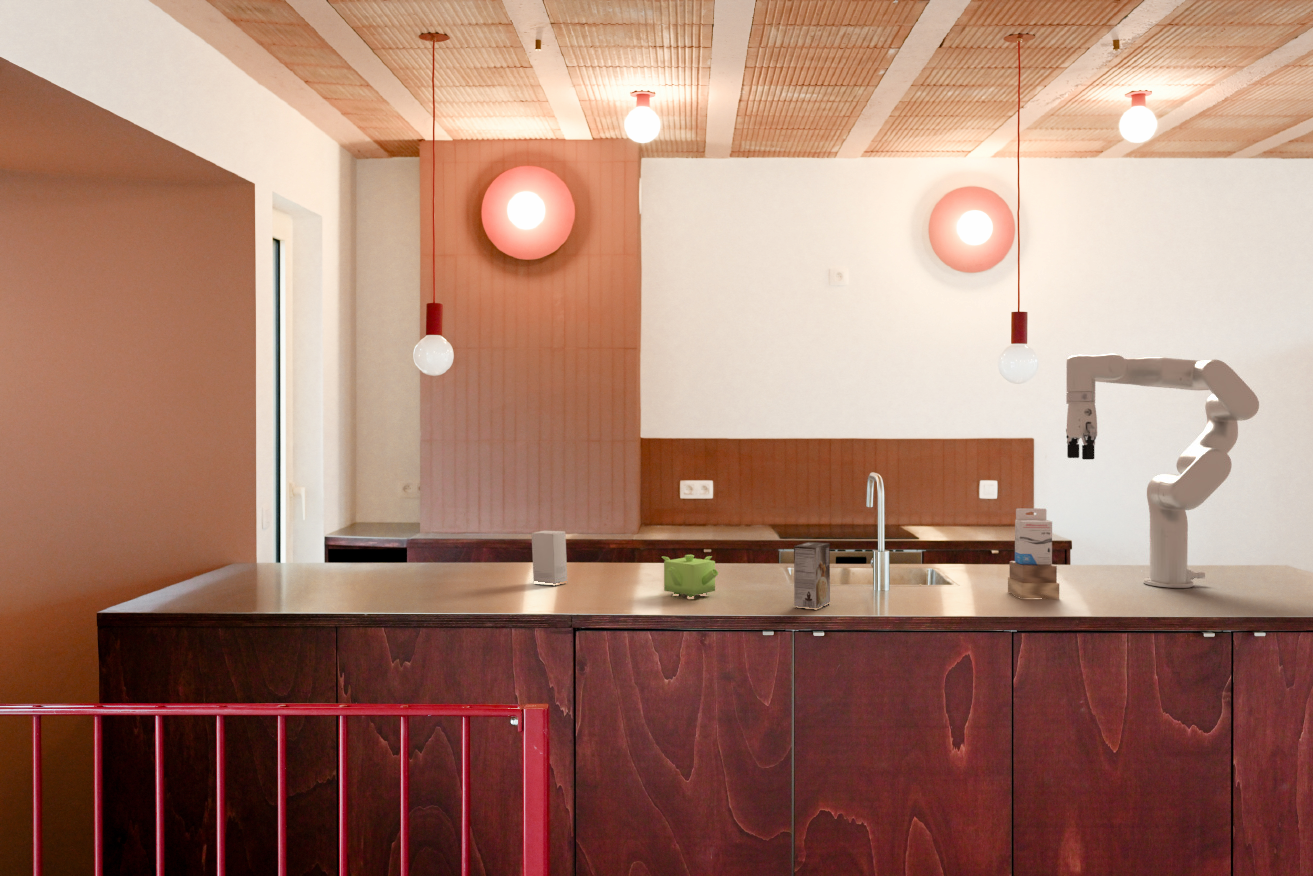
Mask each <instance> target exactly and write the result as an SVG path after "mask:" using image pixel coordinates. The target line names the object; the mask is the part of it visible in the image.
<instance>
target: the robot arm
mask: <svg viewBox="0 0 1313 876" xmlns="http://www.w3.org/2000/svg"><path fill="white" fill-rule="evenodd" d="M1096 382H1098V383H1107V384H1119V385H1131V386H1132V385H1133V386H1139V387H1140V386H1142V387H1150V388H1151V387H1155V388H1165V389H1166V388H1167V389H1176V390H1185V391H1186V390H1187V391H1210V392H1211V394H1210V395H1209V396H1208V397H1207V398H1206V400H1205V405H1204V407H1205V414H1206V425H1205V427H1204V429H1203V431H1202V432H1201V434H1200V435H1199V436H1198V437H1197V438H1196V439H1195V440H1194V441H1193V442H1192V443H1191V444H1190V446H1188V447H1187V448H1186V449H1185V450H1184V451H1183V452H1182V454H1180V456H1179V457H1178V458H1177V461H1176V465H1175V466H1176V470H1177V472H1178V473H1179V474H1180V475H1179V474H1172V473H1163V474H1158V475H1156V476H1154V477H1153V478H1152V479H1151V480H1150V481H1149V483H1148V484H1147V488H1146V498H1147V503H1148V511H1149V577H1145V578H1143V583H1144V584H1146V585H1148V586H1153V587H1160V588H1169V589H1170V588H1171V589H1172V588H1173V589H1186V588H1193V587H1194V585H1195V584H1194V581H1193V580H1195V579H1197V580H1198V579H1205V577H1206V573H1205V572H1204V571H1194V570H1193V571H1192V569H1189V568H1188V549H1189V548H1188V546H1189V545H1188V543H1189V542H1188V538H1189V537H1188V535H1189V534H1188V531H1189V528H1188V527H1189V525H1188V515H1187V511H1191V510H1195V509H1196V508H1198V507H1200V506H1201V505H1202V504H1203V503H1205V501H1207V499H1208V498H1209V497H1210V496H1211V495H1212V494H1213V493H1214V492H1215V491H1216V490H1217V489H1218V488H1219V487H1220V486H1221V485H1222V484H1223V483H1224V482H1225V481H1226V479H1227V478H1228V477H1229V476H1230V473H1231V470H1232V460H1231V458H1230V455H1229V452H1230V451H1231V450H1232V449H1233V448H1234V447H1235V445H1236V443H1237V440H1238V437H1239V426H1238V423H1239V421H1247V420H1250V419H1252V418H1253V417H1255V416H1256V415H1257V414H1258V411H1259V408H1260V401H1259V399H1258V396H1257V395H1256V393H1255V392H1254V391H1253V390H1252V388H1251V387H1250V386H1248V385H1247V384H1246V382H1245V381H1244V380H1243V379H1242V378H1241V377H1240V375H1239V374H1238V373H1236V371H1234V369H1233V368H1232V367H1230V366H1229V365H1228V364H1227V363H1225V362H1224V361H1222V360H1219V359H1206V360H1205V359H1204V360H1195V359H1182V358H1171V357H1162V356H1158V357H1157V356H1156V357H1154V356H1153V357H1152V356H1150V357H1142V358H1141V357H1140V358H1124V356H1122V355H1120V354H1116V353H1108V354H1100V355H1092V354H1091V355H1089V354H1078V355H1077V354H1076V355H1071V356H1069V357H1067V359H1066V405H1067V412H1066V413H1067V415H1066V416H1067V417H1066V428H1065V432H1066V443H1067V455H1066V456H1067V458H1068V459H1079V458H1080V443H1079V441H1080V439H1081V441H1082V443H1083V444H1081V450H1082V451H1081V458H1082V460H1094V459H1095V446H1096V439H1097V437H1098V421H1097V420H1098V417H1097V416H1098V415H1097V408H1096Z"/></svg>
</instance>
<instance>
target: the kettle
mask: <svg viewBox="0 0 1313 876" xmlns="http://www.w3.org/2000/svg"><path fill="white" fill-rule="evenodd" d="M694 557H695V555H693V554H685V555H684V557H680V558H673V559H670V557H668V556H661V558H662V559H663V560H664V562H663V575H664V576H663V583H664V586H663V587H664V589H663V590H664V592H669V593H674V594H680V595H686V597H687V596H689V597H692V596H697V595H699V594H703V593H706V594H708V593H711V592H716V577H717V576H718V575H719V572H718V570H717V569H716V561H715V560H711V559H712V557H713V556H712V555H711V556H710V555H709V556H706V557H705V558H704V559H702V558H696V557H695V558H694Z"/></svg>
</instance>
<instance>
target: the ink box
mask: <svg viewBox="0 0 1313 876" xmlns="http://www.w3.org/2000/svg"><path fill="white" fill-rule="evenodd" d="M1047 511H1048V510H1047V509H1046V508H1032V507H1031V508H1027V507H1026V508H1023V507H1022V508H1020V507H1019V508H1016V509H1015V521H1014V561H1015V562H1017V563H1019V564H1029V565H1053V521H1051V520H1048V519H1047ZM1031 512H1032V513H1035V514H1029V513H1031ZM1027 513H1028V514H1027Z"/></svg>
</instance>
